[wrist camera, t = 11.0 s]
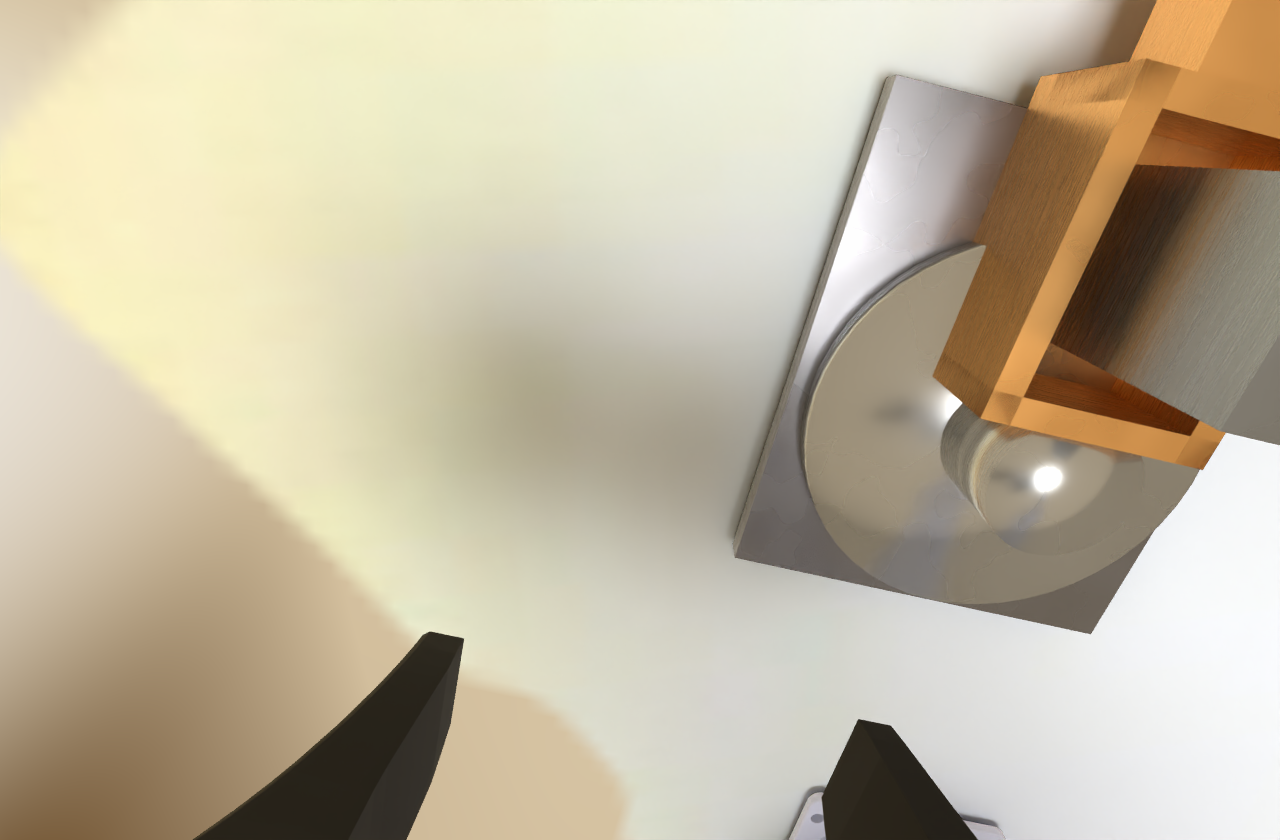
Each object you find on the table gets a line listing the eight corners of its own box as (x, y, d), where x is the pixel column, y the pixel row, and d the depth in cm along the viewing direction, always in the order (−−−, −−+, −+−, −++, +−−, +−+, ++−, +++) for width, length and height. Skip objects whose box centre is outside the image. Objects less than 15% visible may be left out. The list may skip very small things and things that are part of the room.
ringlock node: (1077, 618, 23) (1171, 727, 18) (732, 543, 22) (747, 639, 18) (1542, -165, 15) (1903, -291, 10) (1017, -318, 14) (1170, -519, 10)
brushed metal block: (1101, 344, 18) (1355, 463, 11) (1014, 323, 17) (1219, 431, 11) (1183, 185, 16) (1532, 216, 10) (1088, 161, 16) (1376, 176, 9)
